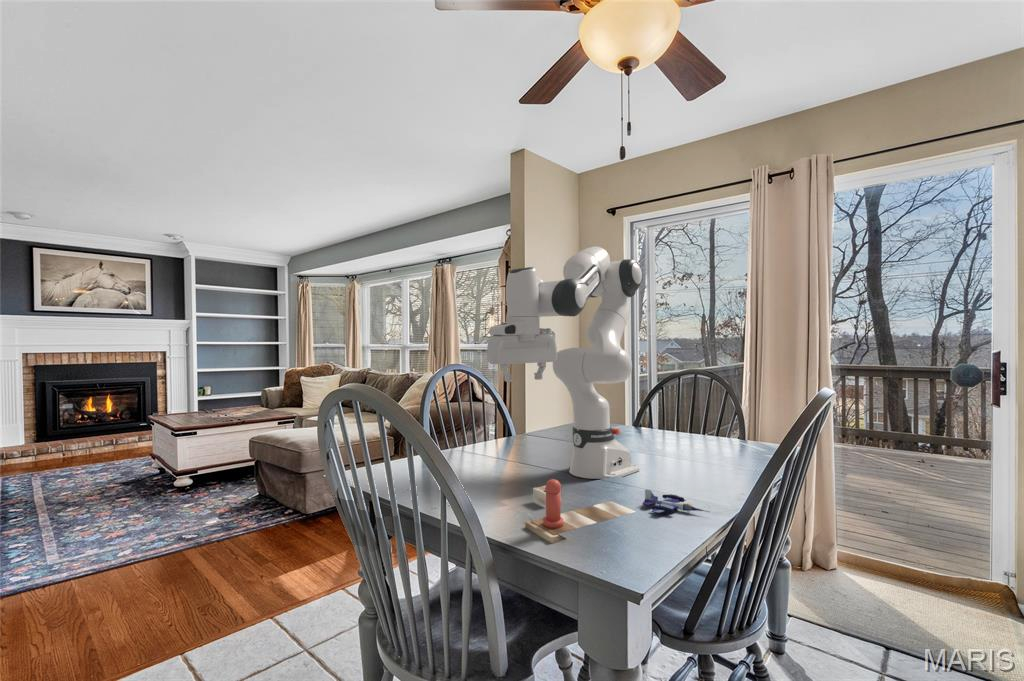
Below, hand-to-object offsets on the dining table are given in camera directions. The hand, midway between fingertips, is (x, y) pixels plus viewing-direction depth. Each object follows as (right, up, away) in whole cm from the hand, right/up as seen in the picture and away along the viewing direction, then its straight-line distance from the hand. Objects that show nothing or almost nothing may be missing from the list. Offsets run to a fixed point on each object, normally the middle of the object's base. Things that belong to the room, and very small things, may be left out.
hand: (523, 380), depth 128 cm
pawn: (+6, -30, -22) cm, 38 cm away
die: (+6, -31, -8) cm, 33 cm away
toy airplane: (+35, -31, -14) cm, 49 cm away
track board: (+14, -31, -18) cm, 38 cm away
